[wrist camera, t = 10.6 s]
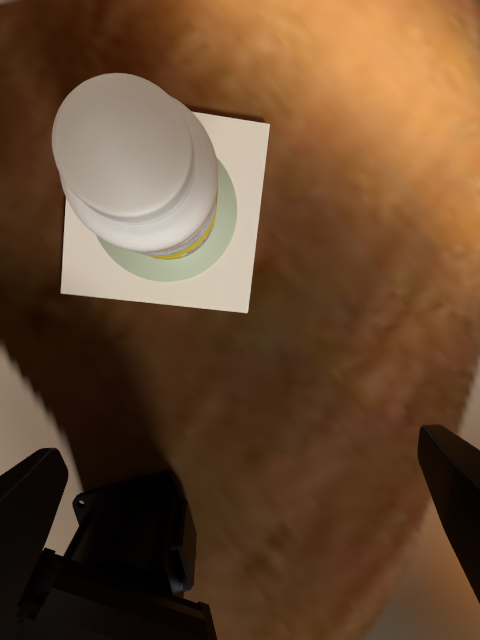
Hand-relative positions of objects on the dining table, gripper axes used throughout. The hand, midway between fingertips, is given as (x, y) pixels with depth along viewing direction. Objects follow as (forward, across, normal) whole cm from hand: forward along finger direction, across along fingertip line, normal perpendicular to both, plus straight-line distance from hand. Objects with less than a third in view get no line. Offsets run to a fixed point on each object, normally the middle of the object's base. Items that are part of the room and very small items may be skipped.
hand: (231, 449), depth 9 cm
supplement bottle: (+14, +4, -4) cm, 16 cm away
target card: (+15, +4, -4) cm, 16 cm away
